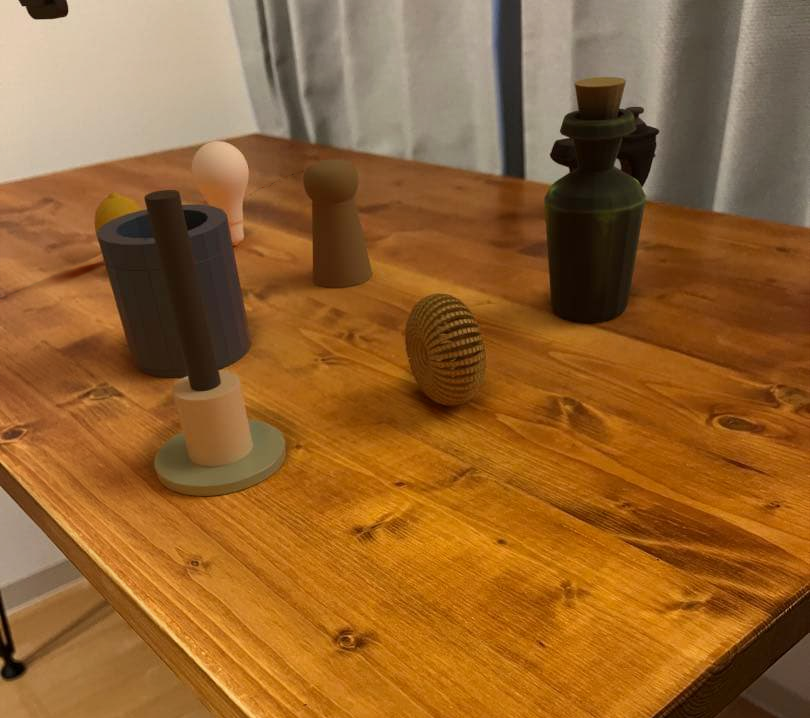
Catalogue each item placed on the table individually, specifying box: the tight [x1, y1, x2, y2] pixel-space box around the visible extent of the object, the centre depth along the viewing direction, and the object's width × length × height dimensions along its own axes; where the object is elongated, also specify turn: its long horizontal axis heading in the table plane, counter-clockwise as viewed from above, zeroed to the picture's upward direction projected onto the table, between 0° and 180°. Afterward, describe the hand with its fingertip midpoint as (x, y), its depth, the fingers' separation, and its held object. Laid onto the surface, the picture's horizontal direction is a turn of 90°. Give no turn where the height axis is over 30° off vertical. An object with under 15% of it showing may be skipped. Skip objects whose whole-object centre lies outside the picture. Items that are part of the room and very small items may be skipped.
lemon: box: [94, 191, 142, 243], centre depth 93 cm, size 6×6×8 cm
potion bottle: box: [543, 76, 647, 323], centre depth 72 cm, size 8×8×18 cm
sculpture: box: [404, 292, 487, 407], centre depth 63 cm, size 8×4×8 cm, turn 24°
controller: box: [549, 106, 660, 188], centre depth 97 cm, size 4×12×10 cm, turn 110°
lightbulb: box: [190, 140, 250, 247], centre depth 96 cm, size 6×6×11 cm
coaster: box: [153, 418, 288, 497], centre depth 60 cm, size 9×9×1 cm
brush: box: [143, 189, 253, 467], centre depth 55 cm, size 4×4×17 cm
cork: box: [302, 158, 373, 289], centre depth 85 cm, size 6×6×11 cm
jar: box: [96, 203, 252, 378], centre depth 73 cm, size 10×10×11 cm
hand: (115, 6), depth 45 cm, fingers open, 8 cm apart
